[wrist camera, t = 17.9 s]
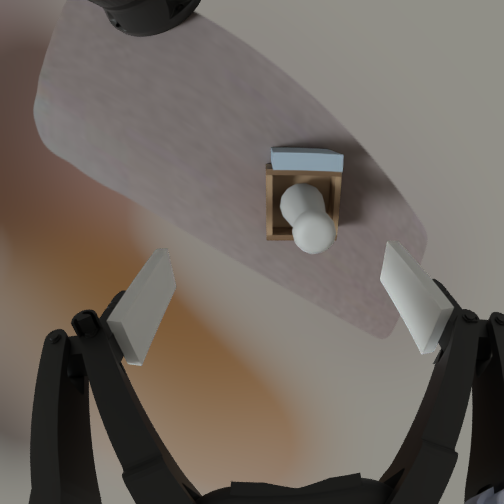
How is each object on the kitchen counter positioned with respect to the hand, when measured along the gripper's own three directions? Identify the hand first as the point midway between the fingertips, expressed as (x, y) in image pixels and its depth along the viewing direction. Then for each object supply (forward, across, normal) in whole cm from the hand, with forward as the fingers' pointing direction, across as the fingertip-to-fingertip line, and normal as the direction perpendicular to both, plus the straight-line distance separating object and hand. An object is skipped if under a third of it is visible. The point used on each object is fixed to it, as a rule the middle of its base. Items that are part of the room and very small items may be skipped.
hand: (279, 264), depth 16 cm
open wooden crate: (+24, +4, -3) cm, 25 cm away
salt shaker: (+23, +4, -3) cm, 23 cm away
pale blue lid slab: (+25, +4, +3) cm, 25 cm away
